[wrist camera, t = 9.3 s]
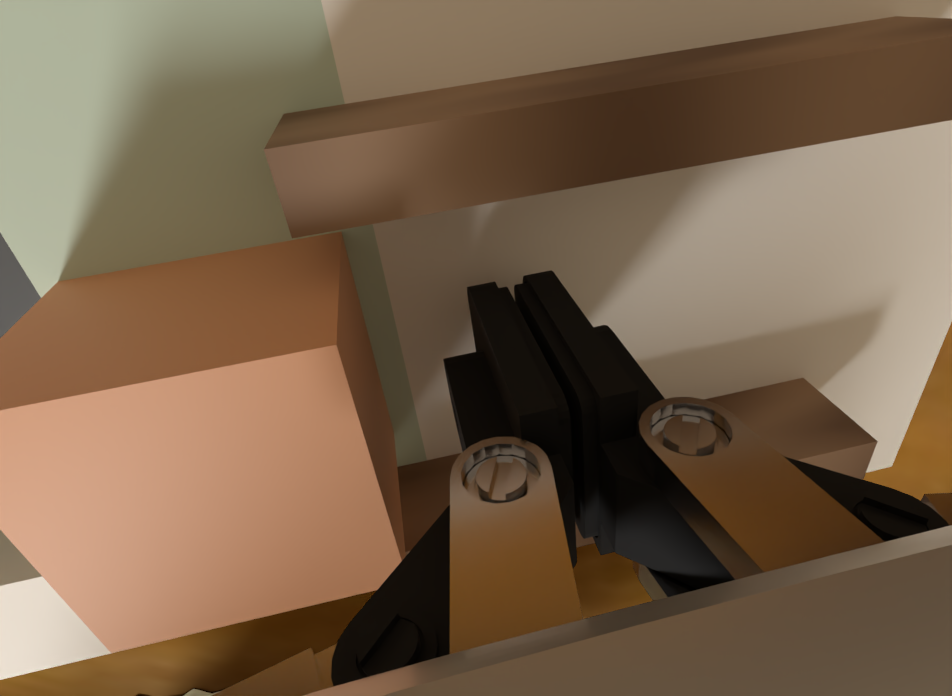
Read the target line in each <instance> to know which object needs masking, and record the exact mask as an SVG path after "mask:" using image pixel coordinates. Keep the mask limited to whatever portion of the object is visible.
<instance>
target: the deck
mask: <svg viewBox="0 0 952 696" xmlns="http://www.w3.org/2000/svg"><path fill="white" fill-rule="evenodd" d="M894 16H904V17H927V18H950V19H952V0H0V338H1V337H2V336H3V335H4V334H5V333H6V332H7V331H8V330H9V329H10V328H11V327H12V326H13V325H14V324H15V323H16V322H17V321H18V320H19V319H20V318H21V317H22V316H23V315H24V314H25V313H27V312H28V311H29V310H30V309H31V308H32V307H33V306H34V305H35V304H36V303H37V302H38V301H39V300H40V299H41V298H42V297H43V296H44V295H45V294H46V293H47V292H48V291H49V290H50V289H51V288H52V287H53V286H54V285H55V284H56V283H57V282H58V281H64V280H69V279H75V278H81V277H86V276H92V275H98V274H103V273H109V272H115V271H120V270H126V269H132V268H137V267H143V266H149V265H154V264H160V263H166V262H171V261H177V260H182V259H188V258H194V257H199V256H205V255H211V254H216V253H222V252H228V251H233V250H239V249H245V248H250V247H256V246H262V245H267V244H273V243H279V242H284V241H290V240H296V239H301V238H307V237H313V236H318V235H324V234H330V233H335V232H342V236H343V240H344V244H345V247H346V251H347V255H348V259H349V263H350V266H351V270H352V274H353V278H354V282H355V286H356V289H357V293H358V297H359V301H360V305H361V309H362V312H363V316H364V320H365V324H366V328H367V332H368V335H369V339H370V343H371V347H372V351H373V354H374V358H375V362H376V366H377V370H378V374H379V377H380V381H381V385H382V389H383V393H384V397H385V400H386V404H387V408H388V412H389V416H390V419H391V423H392V427H393V431H394V438H395V449H396V459H397V467H399V466H404V465H409V464H413V463H418V462H422V461H427V460H431V459H436V458H440V457H445V456H449V455H454V454H458V453H462V447H461V443H460V439H459V435H458V431H457V426H456V422H455V417H454V413H453V408H452V403H451V398H450V393H449V388H448V383H447V378H446V373H445V367H444V361H443V359H444V358H449V357H454V356H458V355H463V354H468V353H473V352H476V349H475V342H474V335H473V329H472V322H471V315H470V309H469V302H468V295H467V287H470V286H475V285H480V284H485V283H490V282H496V284H497V286H498V288H502V287H508V289H509V291H510V293H511V295H512V297H513V298H514V300H515V296H514V286H515V285H517V284H522V283H523V276H525V275H530V274H535V273H540V272H545V271H550V270H552V271H553V272H554V273H555V275H556V276H557V277H558V279H559V280H560V282H561V283H562V284H563V286H564V287H565V289H566V290H567V291H568V293H569V294H570V296H571V297H572V298H573V300H574V301H575V302H576V304H577V305H578V307H579V308H580V309H581V311H582V312H583V314H584V315H585V316H586V318H587V319H588V320H589V322H590V323H591V325H592V326H593V327H597V326H601V325H607V326H608V327H610V328H611V329H612V331H613V332H614V333H615V335H616V336H617V337H618V338H619V340H620V341H621V342H622V344H623V345H624V346H625V348H626V349H627V350H628V351H629V353H630V354H631V355H632V357H633V358H634V359H635V361H636V362H637V363H638V364H639V366H640V367H641V368H642V370H643V371H644V372H645V373H646V375H647V376H648V377H649V379H650V380H651V381H652V383H653V384H654V385H655V386H656V388H657V389H658V390H659V392H660V393H661V394H662V396H663V397H664V398H665V399H668V398H673V397H693V398H699V399H708V398H713V397H718V396H722V395H727V394H731V393H736V392H740V391H745V390H749V389H754V388H758V387H763V386H768V385H772V384H777V383H781V382H786V381H790V380H795V379H799V378H804V379H805V380H807V381H808V382H809V383H810V384H811V385H812V386H814V387H815V388H816V389H817V390H818V391H819V392H821V393H822V394H823V395H824V396H825V397H826V398H828V399H829V400H830V401H831V402H832V403H833V404H835V405H836V406H837V407H838V408H839V409H840V410H842V411H843V412H844V413H845V414H846V415H848V416H849V417H850V418H851V419H852V420H853V421H855V422H856V423H857V424H858V425H859V426H860V427H862V428H863V429H864V430H865V431H866V432H867V433H869V434H870V435H871V436H872V437H873V438H874V439H876V440H877V441H878V442H877V444H876V447H875V450H874V452H873V455H872V458H871V460H870V463H869V465H868V468H867V471H866V472H871V471H875V470H879V469H883V468H887V467H891V466H892V465H893V462H894V460H895V457H896V455H897V452H898V450H899V448H900V445H901V443H902V440H903V438H904V435H905V433H906V431H907V428H908V426H909V423H910V421H911V419H912V416H913V414H914V411H915V409H916V406H917V404H918V402H919V399H920V397H921V394H922V392H923V389H924V387H925V385H926V382H927V380H928V377H929V375H930V373H931V370H932V368H933V365H934V363H935V360H936V358H937V356H938V353H939V351H940V348H941V346H942V343H943V341H944V339H945V336H946V334H947V331H948V329H949V327H950V324H951V322H952V120H949V121H944V122H938V123H933V124H927V125H922V126H916V127H910V128H905V129H899V130H894V131H888V132H883V133H877V134H872V135H866V136H860V137H855V138H849V139H844V140H838V141H833V142H827V143H821V144H816V145H810V146H805V147H799V148H794V149H788V150H782V151H777V152H771V153H766V154H760V155H755V156H749V157H743V158H738V159H732V160H727V161H721V162H716V163H710V164H704V165H699V166H693V167H688V168H682V169H677V170H671V171H665V172H660V173H654V174H649V175H643V176H638V177H632V178H626V179H621V180H615V181H610V182H604V183H599V184H593V185H587V186H582V187H576V188H571V189H565V190H560V191H554V192H548V193H543V194H537V195H532V196H526V197H521V198H515V199H509V200H504V201H498V202H493V203H487V204H482V205H476V206H470V207H465V208H459V209H454V210H448V211H443V212H437V213H431V214H426V215H420V216H415V217H409V218H404V219H398V220H392V221H387V222H381V223H376V224H370V225H365V226H359V227H353V228H348V229H342V230H337V231H331V232H326V233H320V234H314V235H309V236H303V237H298V238H292V237H291V234H290V231H289V227H288V224H287V221H286V218H285V215H284V212H283V209H282V205H281V202H280V199H279V196H278V193H277V190H276V187H275V183H274V180H273V177H272V174H271V171H270V168H269V165H268V162H267V158H266V155H265V152H264V148H265V146H266V144H267V143H268V141H269V139H270V137H271V136H272V134H273V132H274V130H275V128H276V127H277V125H278V123H279V121H280V119H281V118H282V116H283V114H285V113H292V112H298V111H304V110H310V109H317V108H323V107H329V106H335V105H342V104H348V103H354V102H361V101H367V100H373V99H379V98H386V97H392V96H398V95H405V94H411V93H417V92H423V91H430V90H436V89H442V88H449V87H455V86H461V85H467V84H474V83H480V82H486V81H493V80H499V79H505V78H511V77H518V76H524V75H530V74H536V73H543V72H549V71H555V70H562V69H568V68H574V67H580V66H587V65H593V64H599V63H606V62H612V61H618V60H624V59H631V58H637V57H643V56H650V55H656V54H662V53H668V52H675V51H681V50H687V49H693V48H700V47H706V46H712V45H719V44H725V43H731V42H737V41H744V40H750V39H756V38H763V37H769V36H775V35H781V34H788V33H794V32H800V31H807V30H813V29H819V28H825V27H832V26H838V25H844V24H851V23H857V22H863V21H869V20H876V19H882V18H888V17H894ZM122 651H123V650H122ZM110 653H111V652H110V651H109V650H108V649H107V648H106V647H105V646H104V645H103V643H102V642H101V641H100V640H99V639H98V638H97V637H96V636H95V635H94V633H93V632H92V631H91V630H90V629H89V628H88V627H87V626H86V625H85V623H84V622H83V621H82V620H81V619H80V618H79V617H78V616H77V615H76V613H75V612H74V611H73V610H72V609H71V608H70V607H69V606H68V605H67V603H66V602H65V601H64V600H63V599H62V598H61V597H60V596H59V595H58V593H57V592H56V591H55V590H54V589H53V588H52V587H51V586H50V585H49V583H48V582H47V581H46V580H45V579H44V578H43V577H42V576H41V574H40V573H39V572H38V571H37V570H36V569H35V568H34V567H33V566H32V564H31V563H30V562H29V561H28V560H27V559H26V558H25V557H24V556H23V554H22V553H21V552H20V551H19V550H18V549H17V548H16V547H15V546H14V544H13V543H12V542H11V541H10V540H9V539H8V538H7V537H6V536H5V534H4V533H3V532H2V531H1V530H0V680H1V679H6V678H10V677H14V676H18V675H22V674H27V673H31V672H35V671H39V670H43V669H47V668H52V667H56V666H60V665H64V664H68V663H73V662H77V661H81V660H85V659H89V658H93V657H98V656H102V655H106V654H110Z"/></svg>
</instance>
